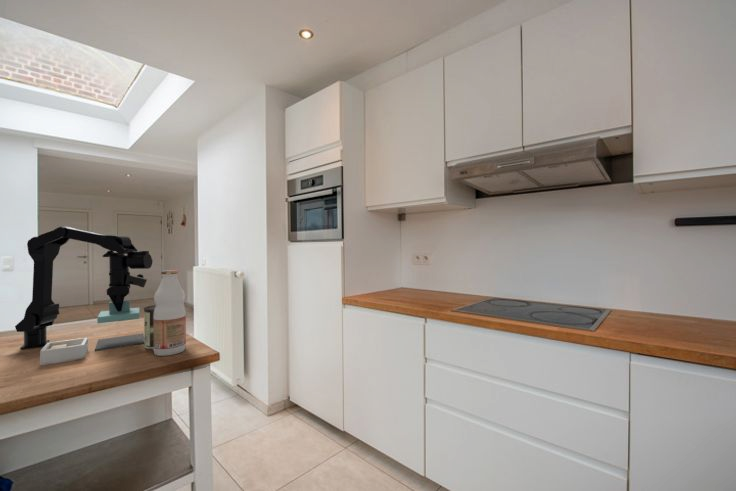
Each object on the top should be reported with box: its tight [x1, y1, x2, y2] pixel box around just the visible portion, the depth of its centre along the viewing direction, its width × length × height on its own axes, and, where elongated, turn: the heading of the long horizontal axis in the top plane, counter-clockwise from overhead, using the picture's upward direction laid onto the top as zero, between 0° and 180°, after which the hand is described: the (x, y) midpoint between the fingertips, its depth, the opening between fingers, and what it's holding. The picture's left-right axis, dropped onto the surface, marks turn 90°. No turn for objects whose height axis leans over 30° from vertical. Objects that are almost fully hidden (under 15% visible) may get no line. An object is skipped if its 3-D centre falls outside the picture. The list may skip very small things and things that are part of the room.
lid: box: [96, 299, 140, 325], centre depth 118 cm, size 12×12×6 cm
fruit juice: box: [153, 269, 187, 357], centre depth 108 cm, size 9×9×28 cm
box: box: [39, 337, 89, 366], centre depth 103 cm, size 10×10×4 cm
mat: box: [94, 332, 144, 352], centre depth 119 cm, size 14×14×1 cm
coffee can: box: [143, 304, 156, 350], centre depth 116 cm, size 10×10×14 cm
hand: (119, 310), depth 118 cm, fingers closed on lid, 2 cm apart
